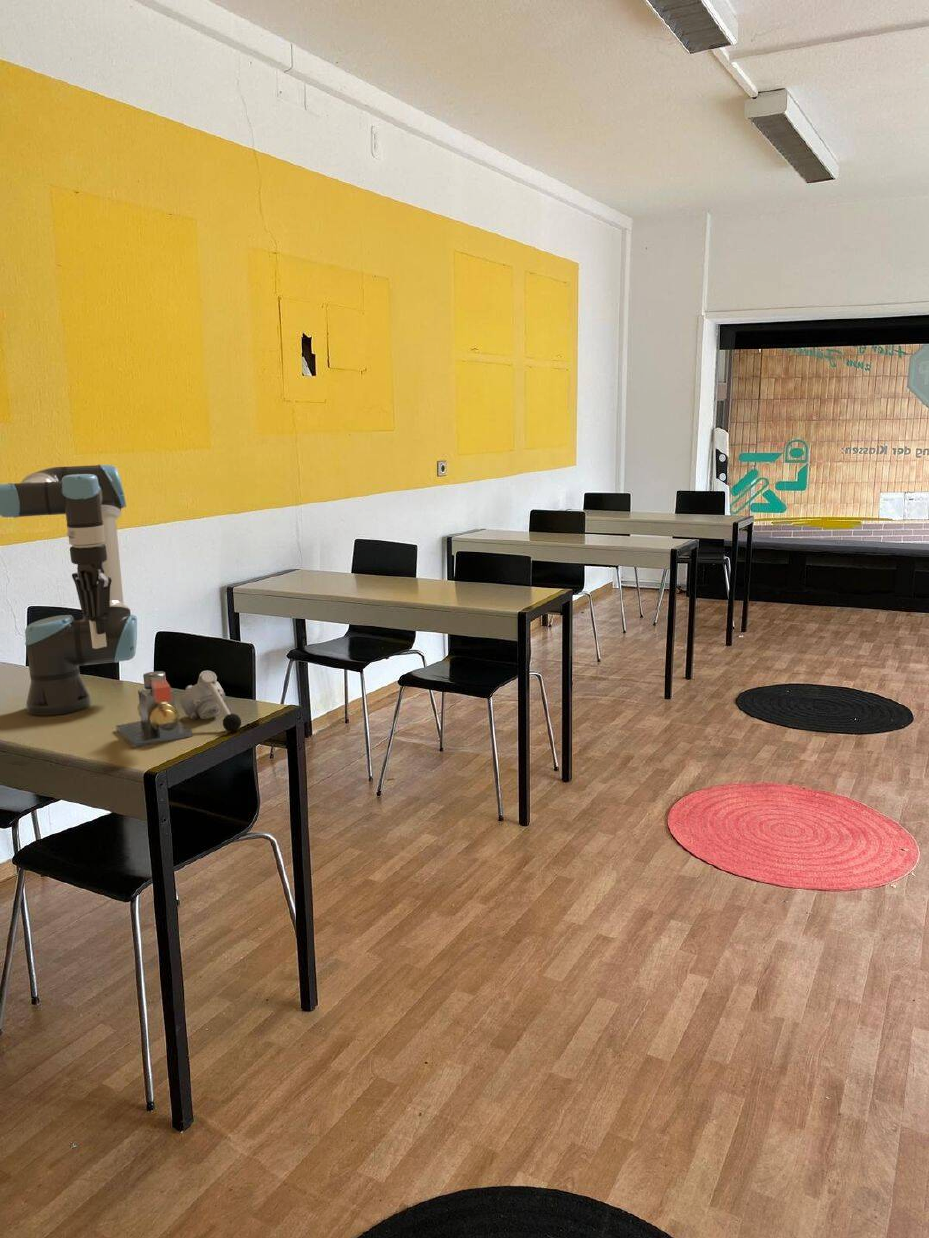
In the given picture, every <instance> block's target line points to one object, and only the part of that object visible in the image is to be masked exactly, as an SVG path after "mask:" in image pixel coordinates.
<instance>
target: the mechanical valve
mask: <svg viewBox="0 0 929 1238" xmlns="http://www.w3.org/2000/svg"><path fill="white" fill-rule="evenodd" d="M217 679H218V676H217V675H216V673H215V672H214V671H211V670H203V671H201V672H200V673H199V676H198V679H197V683H196V684H194V685H192V684H190V685H187V686H186V687H185V692H184V693H183V694H182V695H181V697H180V698H179V699H180V700H179V703H180V706H181V708H182V709H183V712H184V713H185V714H186V715H187V716H188V717H189V718H190V719H191V720H194V719H196V718H197V717H200V719H201V720H208V719H212V718H214V717H215V716H217V715H218V714H219V713H220V711H221V712H222V714H223V716H224V718H223V720H222V727H223V728H224V730H226V731H227V732H230V731H231V732H233V731H234V732H236V731H238V730H239V729H240V727H241V726H242V719H241V717H240V716H239V715H238V714H236V713H231V712H230V710H229V708H228V706H227V705H226V702H224V701H225V698H226V693H225V692H224V689H223V688H222V686H221V684H220V683H219V681H217ZM231 732H230V733H231Z"/></svg>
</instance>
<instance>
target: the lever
mask: <svg viewBox="0 0 929 1238" xmlns="http://www.w3.org/2000/svg"><path fill="white" fill-rule="evenodd" d="M142 677H143V685H144V689H151V690H152V694H153V697H154V699H155V701H156V703H160V702H167V701H172V698H171V685H170V684H169V682H168V681H167V678H166V672H165V671H163V670H162V671H161V670H160V671H159V670H158V671H149V672H145V673H143V676H142Z"/></svg>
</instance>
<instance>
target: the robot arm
mask: <svg viewBox="0 0 929 1238" xmlns="http://www.w3.org/2000/svg"><path fill="white" fill-rule="evenodd" d="M125 497H126V496H125V492H124V489H123V485H122V481H121V476H120V472H119V469H118V468H117V466H115V465H112V464H97V465H95V464H93V465H74V466H73V465H72V466H55V467H54V466H53V467H49V468H46V469H42V470H39V471H35V472H33V473H30V474H28V475H27V476H25V477H24V478H23V479H22V480H21V482H18V483H17V482H14V483H13V482H9V483H0V517H1V518H14V519H15V518H17V519H18V518H24V517H26V518H27V517H37V516H38V517H39V516H55V515H56V516H58V515H65V517H66V518H65V519H66V528H67V532H66V536H67V537H68V542H69V543H68V544H69V545H71V546H70V548H69V553H70V563H72V564H73V565H77V567H76V570H77V571H76V572H75V573H74V572H73V573H71V578H72V580H73V582H74V585H75V589H76V593H77V597H78V601H79V605H80V609H81V612H82V619H78V620H77V619H76V620H75V618H74V616H73V615H71V614H65V615H64V614H63V615H55V616H50V617H46V618H42V619H39V620H36V621H34V622H31V623H30V624H28V625H26V628H25V629H24V637H25V643H24V644H25V645H24V646H26V652H27V653H26V654H27V660H28V669H29V675H30V676H29V677H30V683H29V684H30V685H29V688H28V689H29V690H28V693H27V698H26V705H25V706H26V712H27V713H28V714H29V715H32V716H38V717H39V716H41V717H47V716H49V717H50V716H58V715H59V716H60V715H64V714H65V715H66V714H70V713H74V712H77V711H81V710H84V709H86V708H87V707H89V706H90V705H91V703H92V702H91V695H90V693H89V690H88V688H87V687H86V685H85V683H84V680H83V679H82V676H81V672H80V666H89V665H99V664H109V663H115V664H116V663H119V662H124V661H130V660H132V659H134V657H135V656H136V652H137V644H138V642H137V640H138V618H137V616H136V615H134V614H131V609H130V607H128V605H125V604H124V593H123V583H122V582H123V581H122V572H121V561H120V552H119V538H118V528H117V519H118V518H119V517H120V516H121V515H122V509H124V508H126V507H127V503H126V498H125Z"/></svg>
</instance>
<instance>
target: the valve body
mask: <svg viewBox="0 0 929 1238" xmlns="http://www.w3.org/2000/svg"><path fill="white" fill-rule="evenodd" d="M137 692H138V693H137V694H138V704H137V714H138V715H139V716H140V720H138V721H133V722H127V723H123V724H117V725H115V730H116V732H117V733H118V734H119V735H120V736H121V737H122V738H123V739H124V740H125V741H126V742H127V743H128V744H129V745H130V746H131V747H132V748H134V749H138V748H142V747H146V746H147V747H148V746H151V745H157V744H162V743H167V742H172V741H176V740H181V739H186V738H190V737H193V731H192V730H191V729H190V728H189V727H187V726H186V725H184V724H183V723H182V722H181V721H180V713H179V711H178V709H177V708H176V699H175V691H174V690H173V689H171V698H172V701H167V702H160V703H156V701H155V699H154V697H153V694H152V690H151V689H145V688H143V689H139V690H138V691H137Z"/></svg>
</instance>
